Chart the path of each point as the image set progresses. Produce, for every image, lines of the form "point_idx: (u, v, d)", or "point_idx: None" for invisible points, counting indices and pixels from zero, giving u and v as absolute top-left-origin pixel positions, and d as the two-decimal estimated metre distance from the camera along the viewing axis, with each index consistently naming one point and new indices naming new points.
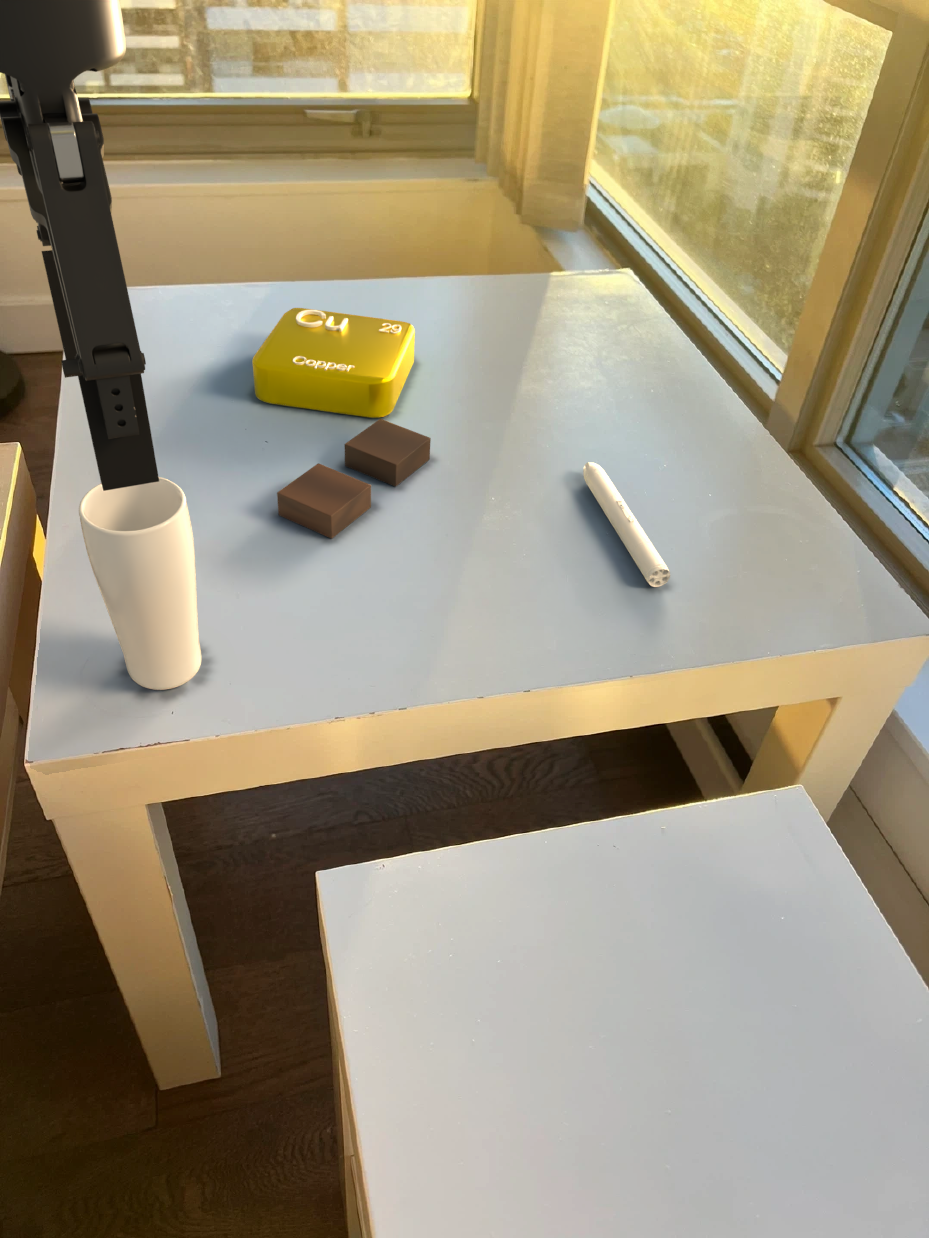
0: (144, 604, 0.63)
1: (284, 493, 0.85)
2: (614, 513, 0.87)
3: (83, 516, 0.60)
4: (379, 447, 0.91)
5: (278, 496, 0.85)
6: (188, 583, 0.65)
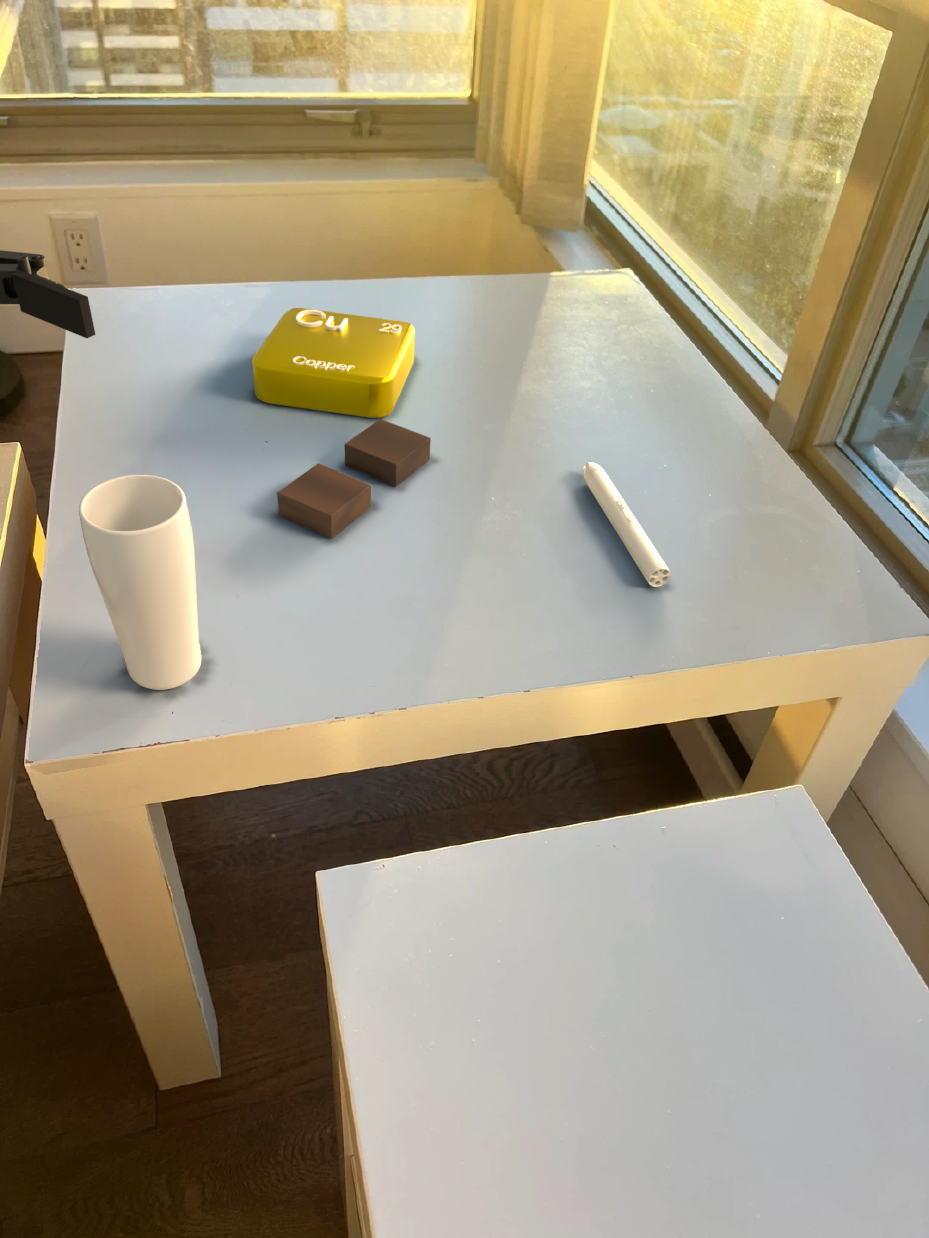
0: (144, 604, 0.63)
1: (284, 493, 0.85)
2: (614, 513, 0.87)
3: (83, 516, 0.60)
4: (379, 447, 0.91)
5: (278, 496, 0.85)
6: (188, 583, 0.65)
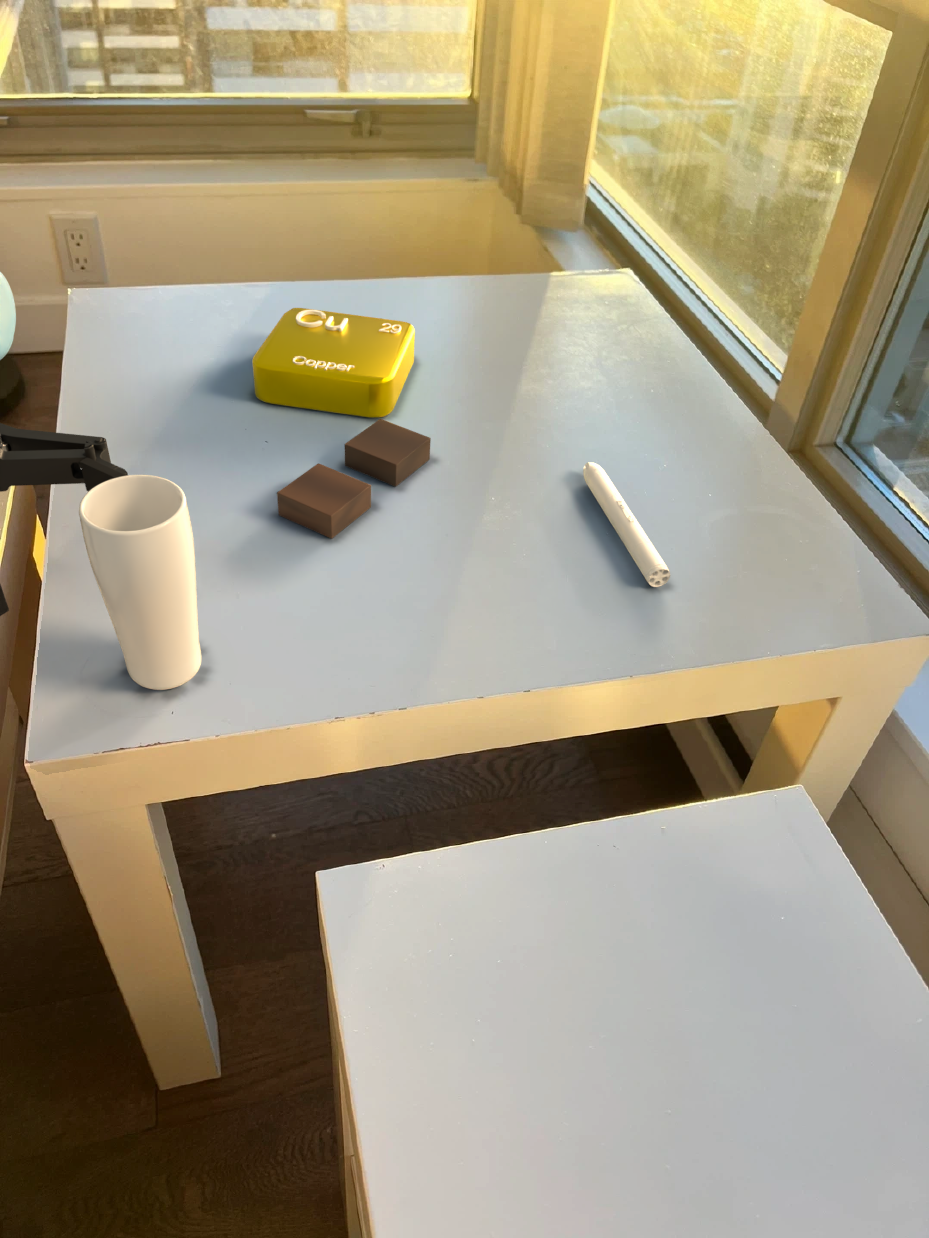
0: (144, 604, 0.63)
1: (284, 493, 0.85)
2: (614, 513, 0.87)
3: (83, 516, 0.60)
4: (379, 447, 0.91)
5: (278, 496, 0.85)
6: (188, 583, 0.65)
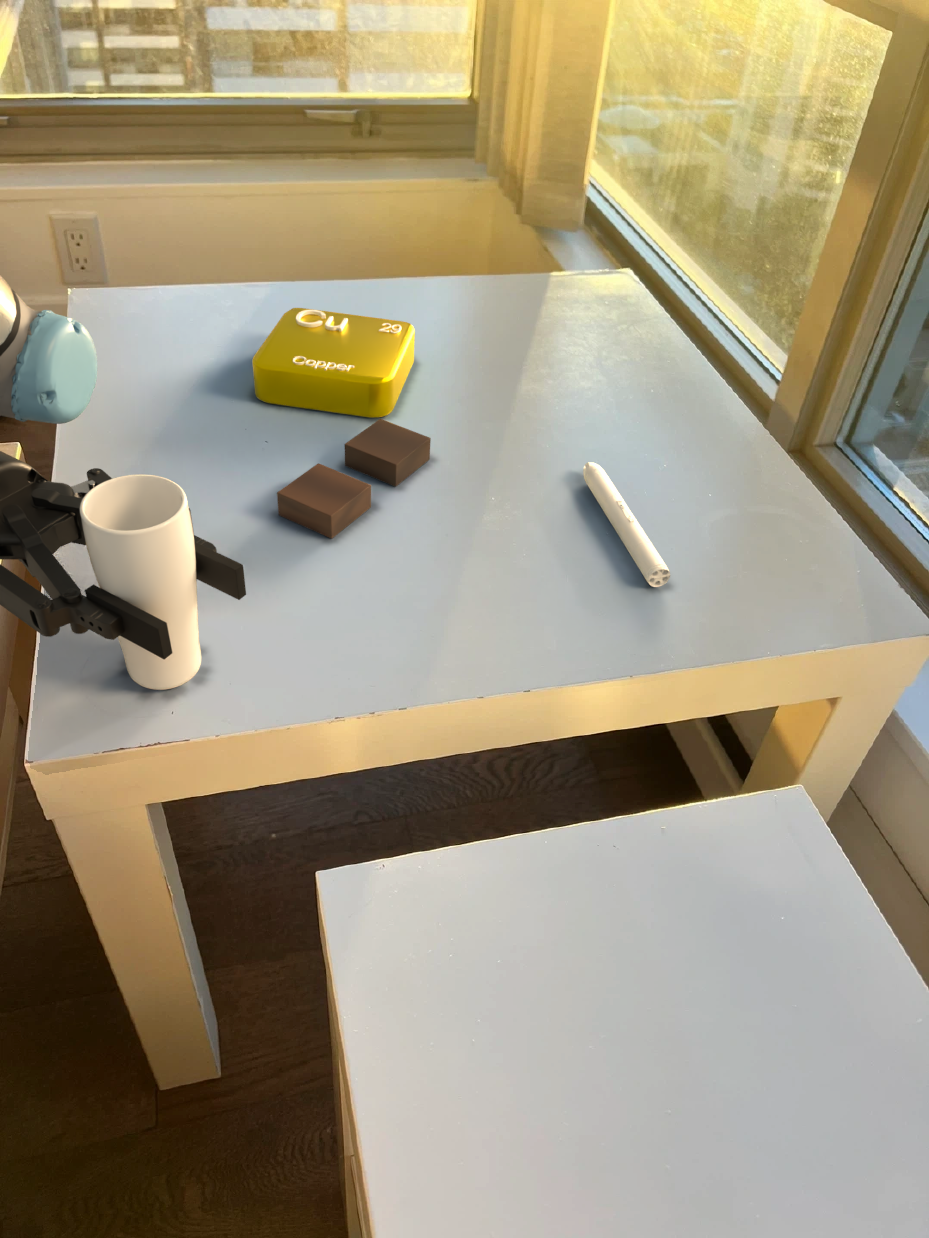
0: (145, 604, 0.63)
1: (284, 493, 0.85)
2: (614, 513, 0.87)
3: (84, 515, 0.60)
4: (379, 447, 0.91)
5: (278, 496, 0.85)
6: (189, 583, 0.65)
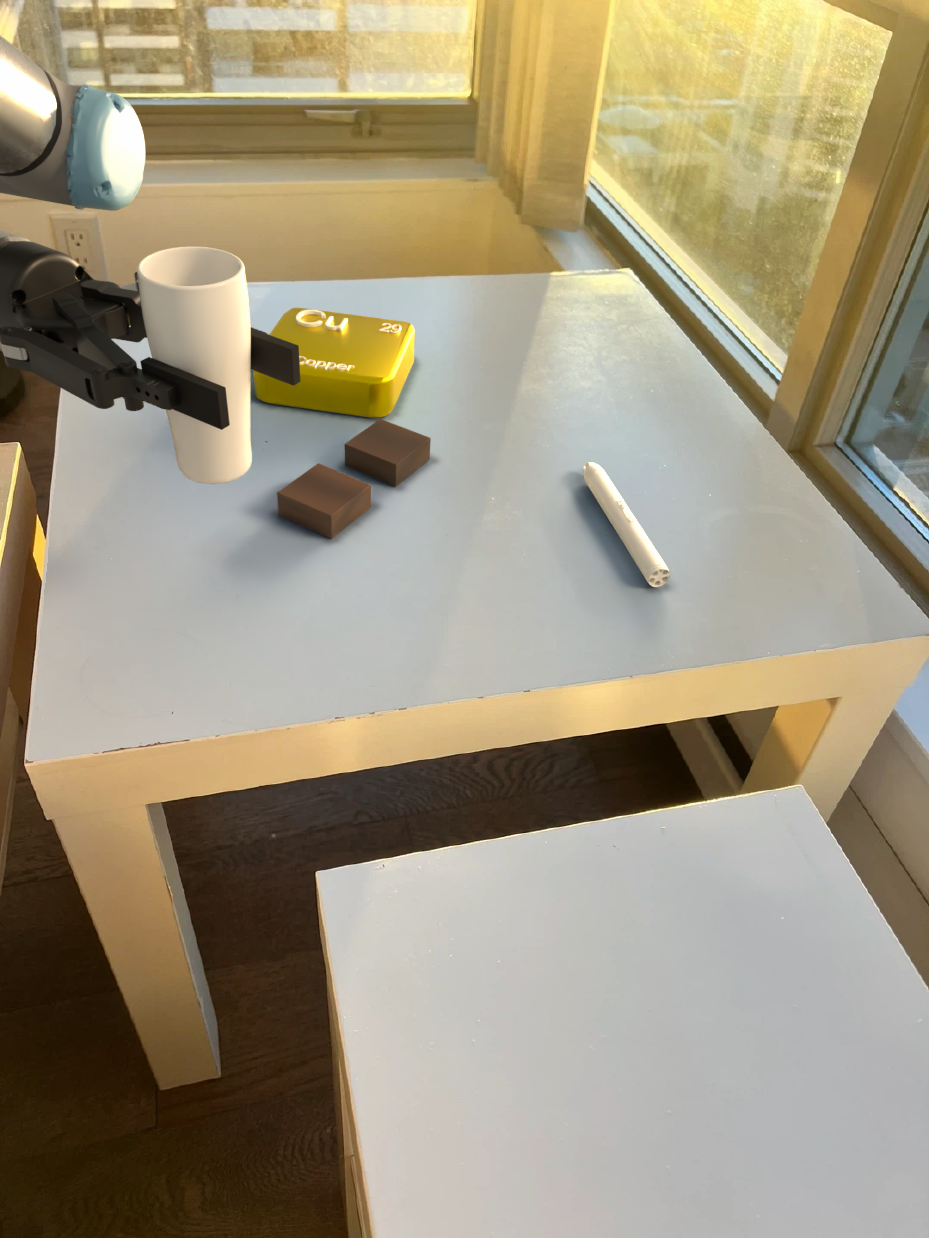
0: (201, 376, 0.62)
1: (284, 493, 0.85)
2: (614, 513, 0.87)
3: (142, 274, 0.59)
4: (379, 447, 0.91)
5: (278, 496, 0.85)
6: (244, 360, 0.64)
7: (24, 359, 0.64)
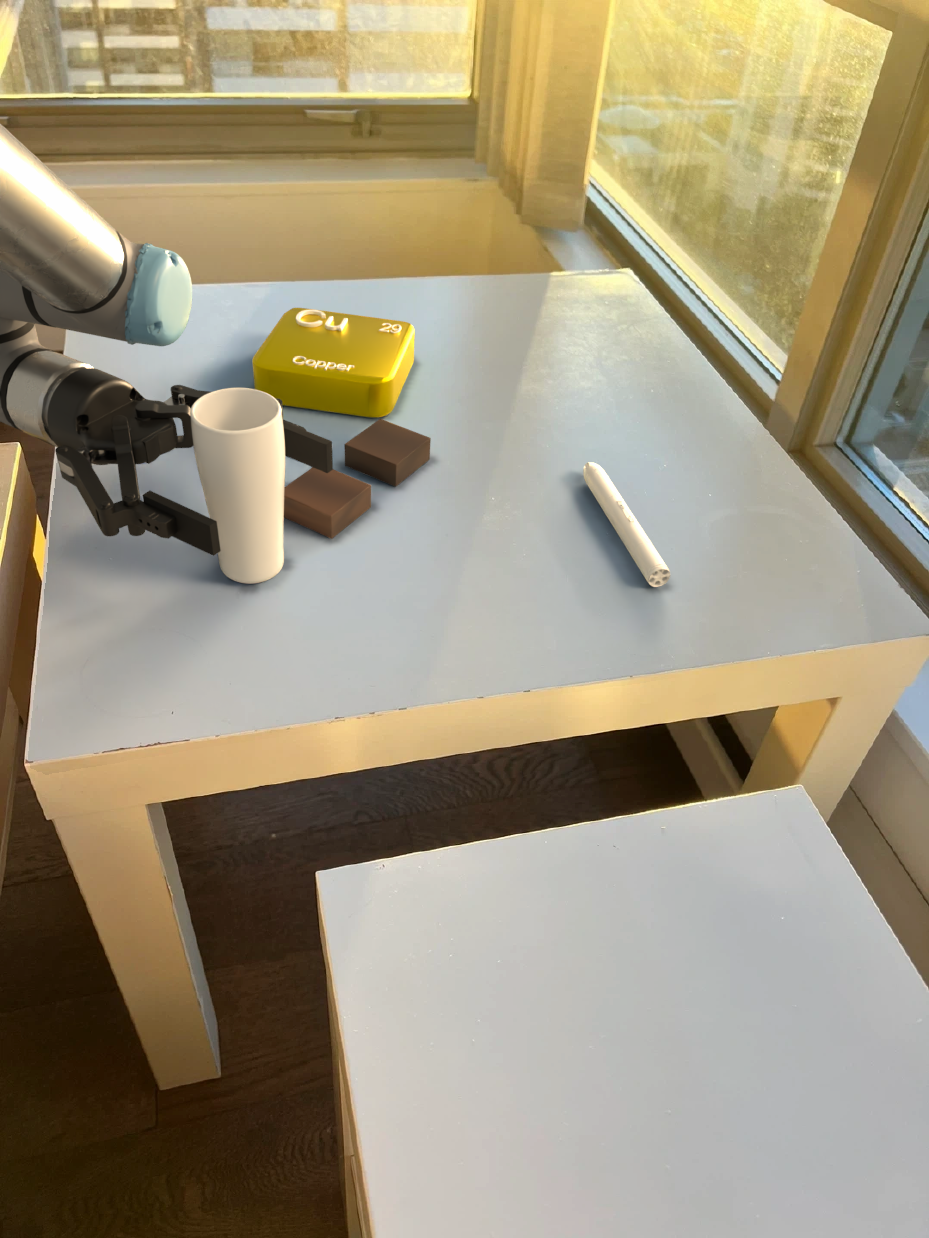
0: (244, 500, 0.72)
1: (284, 493, 0.85)
2: (614, 513, 0.87)
3: (195, 419, 0.69)
4: (379, 447, 0.91)
5: None
6: (280, 483, 0.74)
7: (71, 475, 0.75)
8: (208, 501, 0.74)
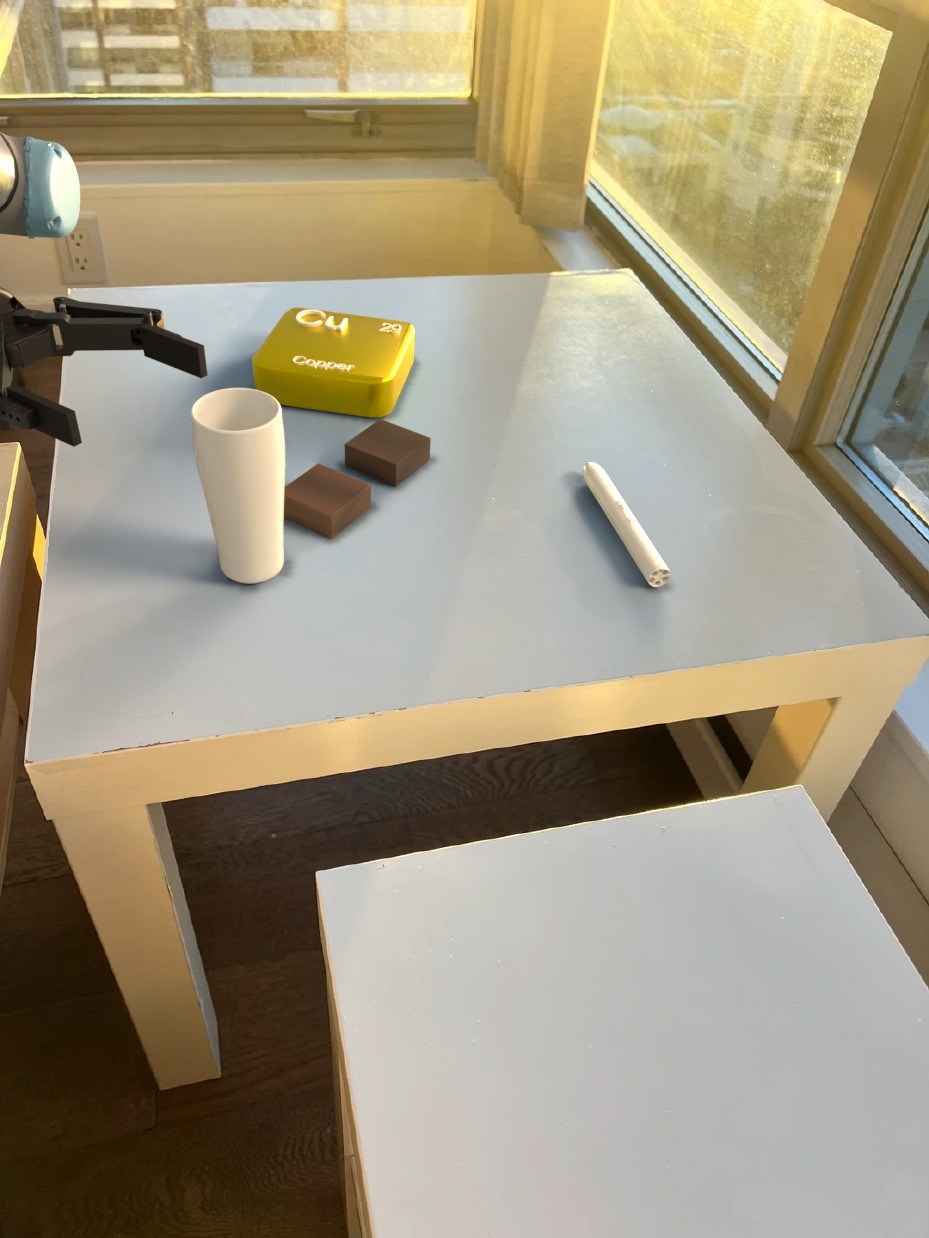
0: (244, 500, 0.72)
1: (284, 493, 0.85)
2: (614, 513, 0.87)
3: (195, 419, 0.69)
4: (379, 447, 0.91)
5: None
6: (280, 483, 0.74)
7: None
8: (208, 501, 0.74)
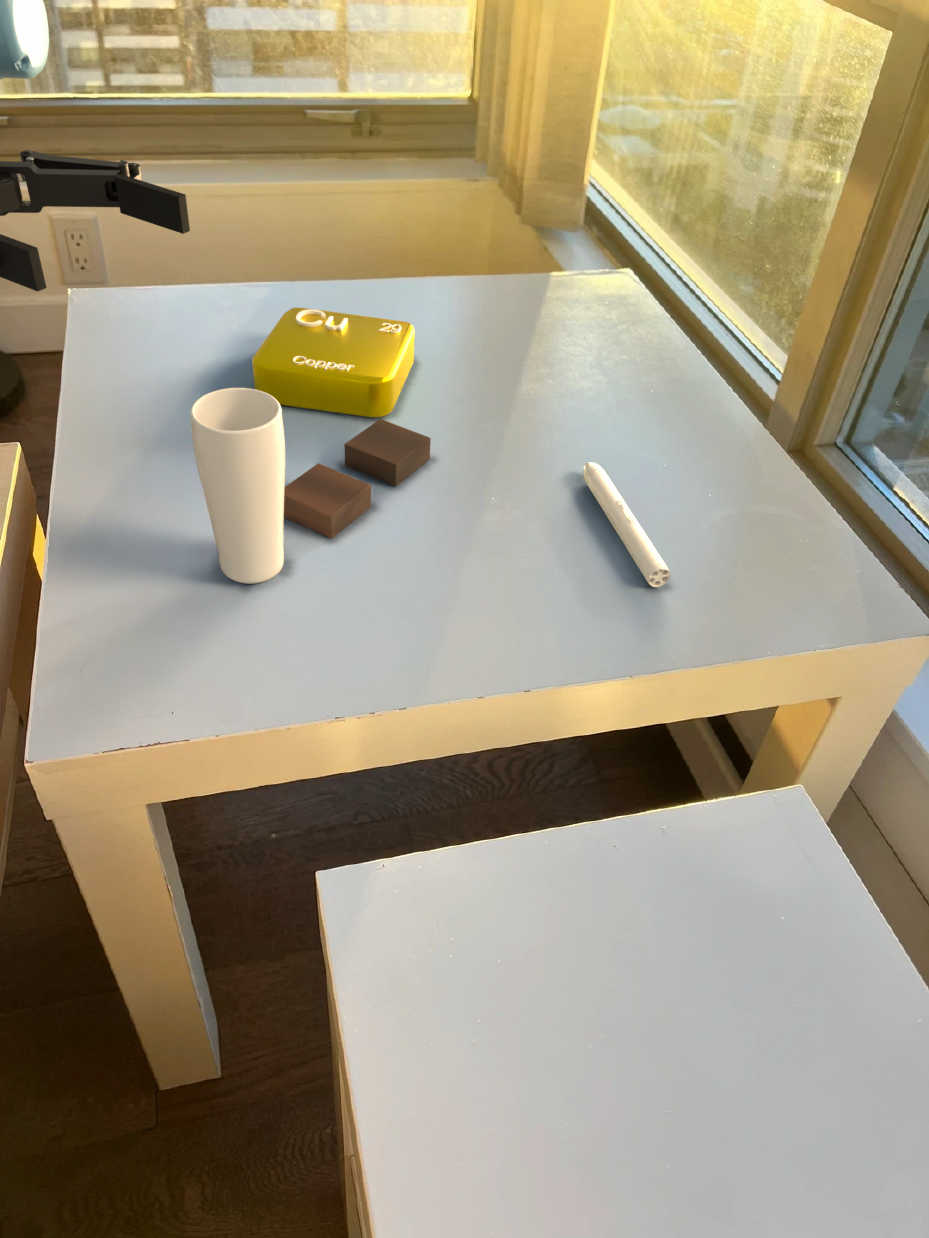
0: (244, 500, 0.72)
1: (284, 493, 0.85)
2: (614, 513, 0.87)
3: (195, 419, 0.69)
4: (379, 447, 0.91)
5: None
6: (280, 483, 0.74)
7: None
8: (208, 501, 0.74)
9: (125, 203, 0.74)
